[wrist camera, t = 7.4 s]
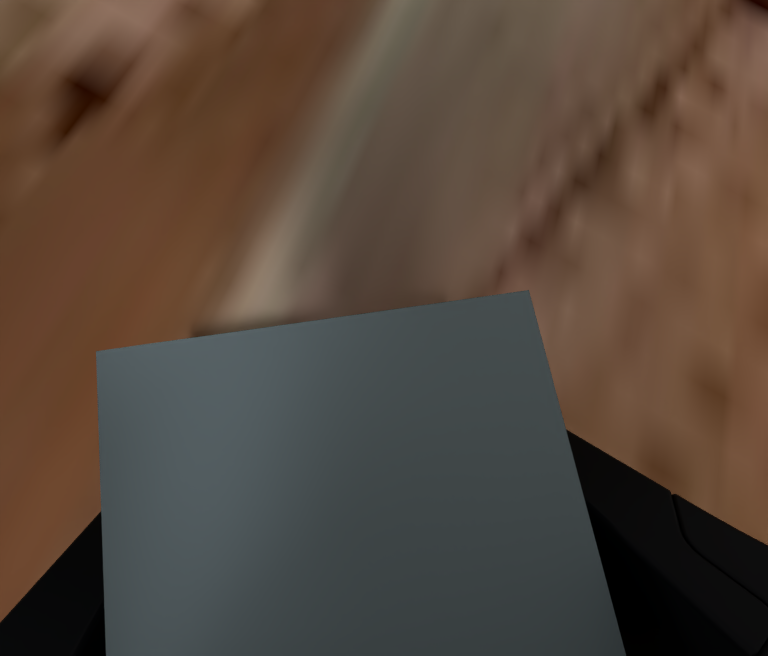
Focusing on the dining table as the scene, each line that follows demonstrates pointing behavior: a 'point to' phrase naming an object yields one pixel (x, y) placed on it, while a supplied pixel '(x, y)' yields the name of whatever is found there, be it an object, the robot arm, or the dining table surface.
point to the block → (347, 492)
